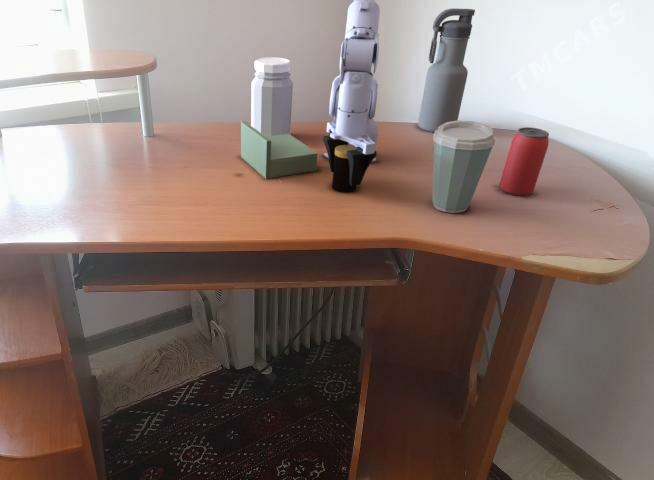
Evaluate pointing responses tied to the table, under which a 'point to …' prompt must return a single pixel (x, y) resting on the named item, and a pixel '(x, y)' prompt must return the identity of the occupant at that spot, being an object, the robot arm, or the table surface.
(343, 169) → the canister
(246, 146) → the shelf
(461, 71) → the water bottle
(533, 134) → the beer can
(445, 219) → the table surface
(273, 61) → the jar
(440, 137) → the disposable coffee cup
